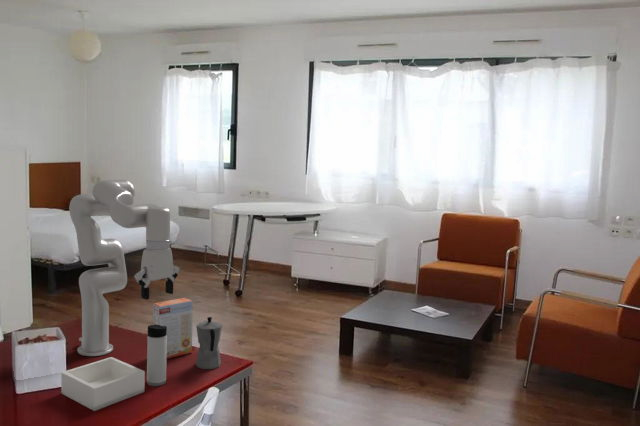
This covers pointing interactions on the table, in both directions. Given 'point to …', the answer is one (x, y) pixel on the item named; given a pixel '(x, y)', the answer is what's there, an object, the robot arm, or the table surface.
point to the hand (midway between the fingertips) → (157, 296)
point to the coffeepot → (208, 344)
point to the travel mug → (156, 355)
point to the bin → (102, 383)
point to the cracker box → (175, 324)
